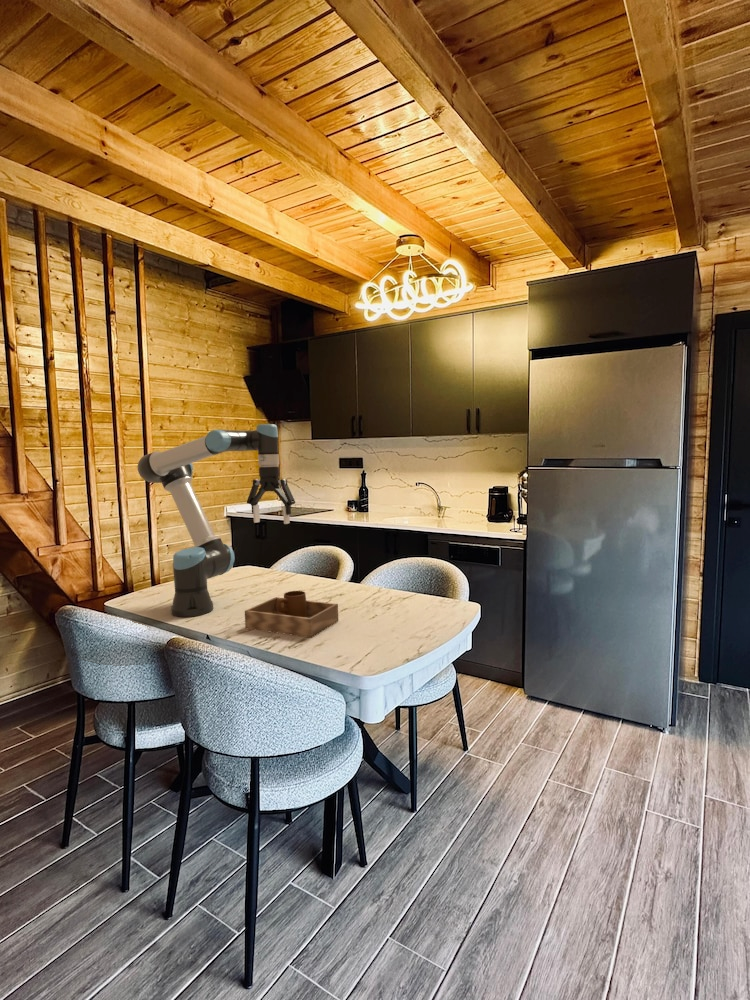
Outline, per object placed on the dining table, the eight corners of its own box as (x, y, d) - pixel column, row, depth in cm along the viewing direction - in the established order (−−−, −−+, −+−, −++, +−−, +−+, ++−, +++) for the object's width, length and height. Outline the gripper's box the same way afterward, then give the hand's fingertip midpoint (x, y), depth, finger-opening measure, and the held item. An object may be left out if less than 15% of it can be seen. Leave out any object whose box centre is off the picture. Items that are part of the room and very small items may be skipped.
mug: (285, 628, 179) (283, 600, 178) (270, 624, 184) (268, 597, 183) (311, 619, 188) (310, 592, 187) (296, 615, 193) (295, 589, 192)
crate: (245, 628, 183) (244, 610, 182) (276, 613, 199) (275, 597, 198) (311, 637, 172) (310, 619, 171) (338, 620, 188) (337, 603, 188)
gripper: (235, 467, 202) (238, 523, 204) (291, 466, 191) (294, 525, 193) (248, 466, 209) (251, 520, 211) (303, 465, 198) (305, 522, 200)
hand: (271, 523), depth 202 cm, fingers open, 13 cm apart
